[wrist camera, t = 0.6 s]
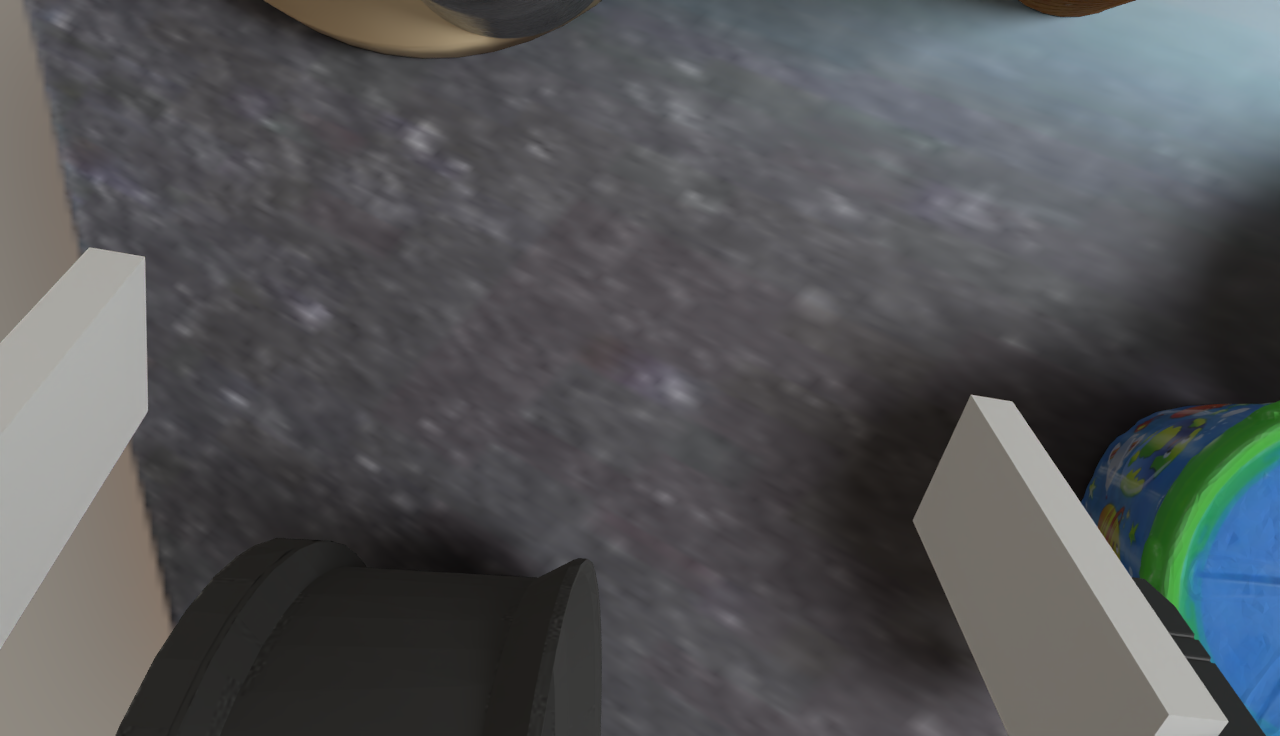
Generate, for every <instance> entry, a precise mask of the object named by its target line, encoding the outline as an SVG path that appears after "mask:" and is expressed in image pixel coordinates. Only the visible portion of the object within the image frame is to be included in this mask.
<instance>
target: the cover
mask: <svg viewBox="0 0 1280 736" xmlns="http://www.w3.org/2000/svg"><path fill="white" fill-rule="evenodd" d="M421 1H422V2H423V3H424V4H426V5H427V6H428V7H429V8H430V9H431V10H432V11H433V12H435V13H436V14H437V15H439V16H440V17H441V18H442V19H444V20H446V21H447V22H449V23H451V24H453V25H454V26H456V27H458V28H461V29H463V30H466V31H468V32H471V33H474V34H478V35H482V36H486V37H493V38H502V39H505V38H522V37H529V36H534V35H538V34H541V33H544V32H547V31H550V30H552V29H554V28H557V27H559V26H561V25H563V24H565V23H566V22H568V21H569V20H571V19H573V18H574V17H576V16H577V15H578V14H580V13H581V12H582V11H583V10H584V9H586V8H587V7H588V6H589V5H590V4H591V3H592V2H593V1H594V0H421Z"/></svg>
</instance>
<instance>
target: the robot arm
mask: <svg viewBox="0 0 1280 736" xmlns="http://www.w3.org/2000/svg"><path fill="white" fill-rule="evenodd" d="M147 412H148V385H147V333H146V281H145V257H144V256H138V255H132V254H126V253H120V252H114V251H108V250H102V249H96V248H90V247H89V248H88V249H87V250H86V251H85V253H84V254H83V255H82V256H81V257H80V258H79V259H78V260H77V261H76V262H75V263H74V264H73V265H72V267H71V268H70V269H69V270H68V271H67V272H66V273H65V274H64V275H63V276H62V277H61V278H60V280H58V282H57V283H56V284H55V285H54V286H53V287H52V288H51V289H50V290H49V291H48V292H47V293H46V294H45V295H44V297H43V298H42V299H41V300H40V301H39V302H38V303H37V304H36V305H35V306H34V307H33V308H32V309H31V310H30V311H29V313H28V314H27V315H26V316H25V317H24V318H23V319H22V320H21V321H20V322H19V323H18V324H17V325H16V326H15V328H14V329H13V330H12V331H11V332H10V333H9V334H8V335H7V336H6V337H5V338H4V340H2V341H1V343H0V649H1V648H2V646H3V645H4V643H5V641H6V640H7V638H8V637H9V635H10V633H11V632H12V630H13V628H14V627H15V625H16V624H17V622H18V620H19V618H20V617H21V616H22V614H23V612H24V611H25V609H26V607H27V606H28V604H29V602H30V601H31V599H32V598H33V596H34V594H35V593H36V591H37V590H38V588H39V586H40V585H41V583H42V582H43V580H44V578H45V577H46V575H47V573H48V572H49V570H50V569H51V567H52V565H53V564H54V562H55V560H56V559H57V557H58V556H59V554H60V552H61V551H62V549H63V548H64V546H65V544H66V543H67V541H68V540H69V538H70V536H71V535H72V533H73V531H74V530H75V528H76V527H77V525H78V523H79V522H80V520H81V519H82V517H83V515H84V514H85V512H86V511H87V509H88V507H89V506H90V504H91V502H92V501H93V499H94V498H95V496H96V494H97V493H98V491H99V490H100V488H101V486H102V485H103V483H104V481H105V480H106V478H107V477H108V475H109V473H110V472H111V470H112V468H113V467H114V465H115V464H116V462H117V460H118V459H119V457H120V455H121V454H122V452H123V451H124V449H125V447H126V446H127V444H128V443H129V441H130V439H131V438H132V436H133V435H134V433H135V431H136V430H137V428H138V426H139V425H140V423H141V422H142V420H143V418H144V417H145V415H146V414H147ZM913 523H914V525H915V527H916V529H917V532H918V534H919V536H920V538H921V540H922V543H923V545H924V547H925V549H926V552H927V554H928V556H929V558H930V561H931V563H932V565H933V567H934V570H935V572H936V574H937V576H938V579H939V581H940V583H941V585H942V588H943V590H944V592H945V594H946V597H947V599H948V601H949V603H950V606H951V608H952V610H953V612H954V615H955V617H956V619H957V621H958V624H959V626H960V628H961V630H962V633H963V635H964V637H965V639H966V642H967V644H968V646H969V648H970V651H971V653H972V655H973V657H974V660H975V662H976V664H977V666H978V669H979V671H980V673H981V675H982V678H983V680H984V682H985V684H986V686H987V689H988V691H989V693H990V695H991V698H992V700H993V702H994V704H995V707H996V709H997V711H998V713H999V716H1000V718H1001V720H1002V722H1003V725H1004V727H1005V729H1006V731H1007V734H1008V736H1266V735H1265V734H1264V732H1263V731H1262V729H1261V728H1260V726H1259V725H1258V724H1257V722H1256V721H1255V719H1254V718H1253V716H1252V715H1251V714H1250V712H1249V711H1248V709H1247V708H1246V707H1245V705H1244V704H1243V702H1242V701H1241V699H1240V698H1239V697H1238V695H1237V694H1236V692H1235V691H1234V689H1233V688H1232V687H1231V685H1230V684H1229V682H1228V681H1227V680H1226V678H1225V677H1224V675H1223V674H1222V672H1221V671H1220V670H1219V668H1218V667H1217V665H1216V664H1215V663H1211V662H1210V659H1211V657H1210V655H1209V654H1208V653H1207V651H1206V650H1205V648H1204V647H1203V645H1202V644H1201V643H1200V641H1199V640H1195V639H1194V635H1195V634H1194V633H1193V631H1192V630H1191V628H1190V627H1189V626H1188V624H1187V623H1186V621H1185V620H1184V618H1183V617H1182V616H1181V614H1180V613H1179V611H1178V610H1177V608H1176V607H1175V606H1174V605H1173V604H1172V603H1171V602H1170V601H1169V600H1168V599H1166V598H1165V597H1164V596H1163V595H1162V594H1161V593H1160V592H1159V591H1157V590H1156V589H1155V588H1154V587H1153V586H1152V585H1151V584H1150V583H1148V582H1147V581H1146V580H1145V579H1142V578H1135V577H1131V576H1130V575H1129V573H1128V572H1127V570H1126V569H1125V567H1124V566H1123V564H1122V563H1121V561H1120V560H1119V558H1118V557H1117V555H1116V554H1115V552H1114V551H1113V550H1112V548H1111V547H1110V545H1109V544H1108V542H1107V541H1106V539H1105V538H1104V536H1103V535H1102V533H1101V532H1100V530H1099V529H1098V527H1097V526H1096V524H1095V523H1094V521H1093V520H1092V518H1091V517H1090V515H1089V514H1088V513H1087V511H1086V510H1085V508H1084V507H1083V505H1082V504H1081V502H1080V501H1079V499H1078V498H1077V496H1076V495H1075V493H1074V492H1073V490H1072V489H1071V487H1070V486H1069V484H1068V483H1067V481H1066V480H1065V478H1064V477H1063V476H1062V474H1061V473H1060V471H1059V470H1058V468H1057V467H1056V465H1055V464H1054V462H1053V461H1052V459H1051V458H1050V456H1049V455H1048V453H1047V452H1046V450H1045V449H1044V447H1043V446H1042V444H1041V443H1040V441H1039V440H1038V439H1037V437H1036V436H1035V434H1034V433H1033V431H1032V430H1031V428H1030V427H1029V425H1028V424H1027V422H1026V421H1025V419H1024V418H1023V416H1022V415H1021V413H1020V412H1019V410H1018V409H1017V407H1016V406H1015V404H1014V403H1013V402H1012V401H1006V400H1000V399H994V398H988V397H982V396H976V395H970V398H969V400H968V402H967V404H966V406H965V408H964V410H963V413H962V415H961V417H960V419H959V421H958V423H957V426H956V428H955V430H954V432H953V434H952V436H951V439H950V441H949V443H948V445H947V447H946V449H945V452H944V454H943V456H942V458H941V460H940V462H939V465H938V467H937V469H936V471H935V473H934V475H933V478H932V480H931V482H930V484H929V486H928V488H927V491H926V493H925V495H924V497H923V499H922V501H921V504H920V506H919V508H918V510H917V512H916V514H915V516H914V519H913Z"/></svg>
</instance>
